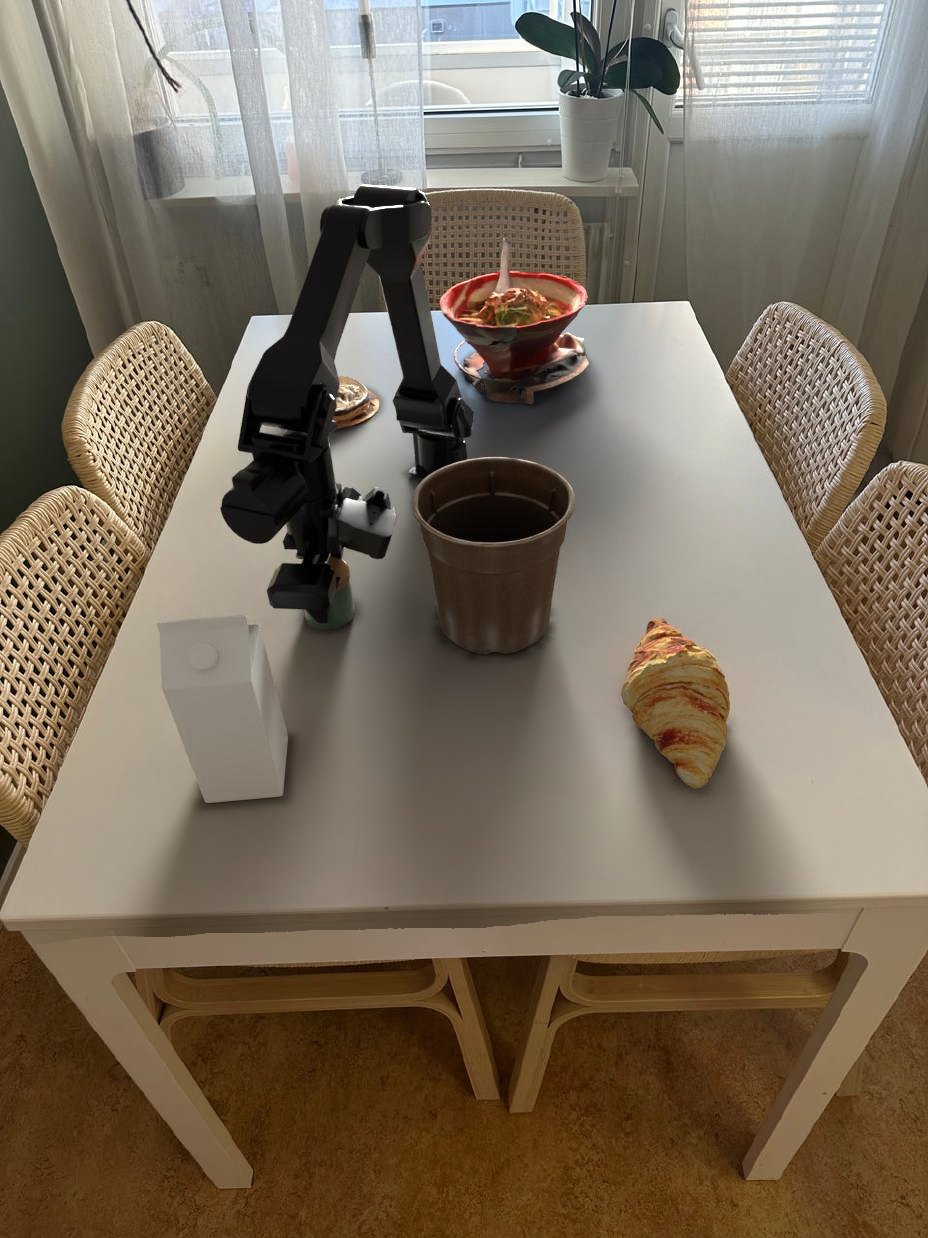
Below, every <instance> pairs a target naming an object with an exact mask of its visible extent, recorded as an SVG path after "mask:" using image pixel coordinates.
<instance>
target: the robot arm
mask: <svg viewBox="0 0 928 1238" xmlns="http://www.w3.org/2000/svg"><path fill="white" fill-rule="evenodd" d="M432 217H433V216H432V209H431V205H430V204H429V202H428V200H427V197H426V194H425V193H424V192H422V191H420V190H419V189H418V188H412V187H400V186H389V185H388V186H387V185H372V184H362V185H360V186H359V187H357V189H356V191H355V192H354V195H350V196H346V197H341V198H337V199H335V204H332V205H328V206H327V207H325V208H324V209H323V211H322V213H321V217H320V219H319V231H320V232H319V233H320V235H319V238H318V240H317V244H316V246H315V249H314V252H313V255H312V257H311V260H310V263H309V266H308V269H307V272H306V274H305V278H304V281H303V283H302V286H301V289H300V292H299V294H298V298H297V300H296V302H295V305H294V309H293V310H292V311H293V312H292V314H291V316H290V319H289V322H288V325H287V328H286V330H285V332H284V334H283V336H282V337H280V338H279V339H278V340H277V341H275V342H274V343H273V344H272V345H270V346H269V347H267V349H265V351H264V352H263V353H262V355H261V357H260V360H259V362H258V363H257V366H256V367H255V370H254V371H253V374H252V375H251V377H250V379H249V383H248V385H247V388H246V393H245V399H244V406H243V411H242V419H241V424H240V428H239V429H240V431H239V435H238V436H239V437H238V442H237V450H238V452H241V453H246V454H251V455H252V459H253V460H252V461H250V463H248V464H247V466H245V467H243V468H242V469H240V470H239V471H237V472H236V473H235V474H234V475H233V476H232V478H231V483H232V487H231V488H230V489H229V490H228V491H227V492H226V493H225V494H224V495H223V496H222V499H221V506H220V508H219V509H220V514H221V516H222V519H223V520H224V522H225V524H226V525H227V526H228V528H229V529H230V531H232V532H233V533H234V534H235V535H237V537H239V538H241V539H242V540H244V541H246V542H248V543H251V544H255V545H264V544H267V543H269V542H270V541H272V540H273V539H274V537H275V536H277V534H278V533H279V532H280V531H281V530H282V529H283V528H284V527H285V526H286V533H285V535H284V538H283V540H282V544H283V549H284V550H289V551H291V550H292V551H293V550H296V554H295V558H296V559H297V560H301V562H300V563H299V562H298V563H295V562H294V563H293V562H292V563H291V562H282V563H281V564H279V566H278V567H276V568H275V570H274V572H273V574H272V576H271V578H270V582H269V584H268V586H267V588H266V594H267V598H268V603H269V605H270V606H271V607H272V608H273V609H274V610H275V609H278V610H279V609H280V610H303V611H304V610H306V611H307V612H308V613H309V614H310V615H311V616H312V617H313V618H314V619H315V620H316V621H317V622H318V623H328V615H329V607H330V606H331V603H332V600H333V597H334V594H335V593H336V590H337V587H338V584H339V581H340V578H341V577H336V576H335V572H334V571H333V570H332V569H331V566H330V565H329V564H327V563H328V560H329V557H335V558H339V559H341V560H343V559H344V558H343V557H344V550H345V549H348V550H351V551H354V552H356V553H361V554H363V555H367V556H369V557H370V558H371V559H374V560H383V559H384V558H385V557H386V555H387V552H388V550H389V546H390V544H391V540H392V538H393V534H394V530H395V526H396V522H397V519H398V516H397V514H396V507H394V506H392V503H391V499H390V494H389V490H387V489H383V488H380V487H378V486H375V487H373V489H371V490H370V491H369V492H368V493H367V494H365V495H364V498H363V496H362V494H361V493H360V492H359V491H358V490H357V489H355V488H354V487H352V486H342V483H340V482H339V483H336V477H335V469H334V463H333V458H332V457H333V456H332V450H331V445H330V439H329V436H331V434H332V433H334V431H336V430H337V429H338V428H337V422H336V421H333V417H334V414H335V410H336V408H337V404H336V398H337V394H338V389H339V385H340V381H339V378H338V377H339V374H338V371H337V367H336V362H335V361H336V356H337V352H338V348H339V346H340V342H341V339H342V337H343V334H344V331H345V327H346V324H347V322H348V318H349V316H350V313H351V310H352V308H353V304H354V301H355V298H356V295H357V292H358V289H359V286H360V284H361V281H362V277H363V274H364V272H365V268H366V265H369V267H370V268H371V269H372V271H374V272H375V273H376V274H377V275H378V278H379V282H380V287H381V290H382V294H383V299H384V303H385V308H386V312H387V315H388V319H389V324H390V327H391V332H392V336H393V340H394V345H395V349H396V353H397V358H398V361H399V365H400V370H401V374H402V379H401V382H400V383H399V386H398V387H397V389H396V392H395V394H394V396H393V399H392V404H393V407H394V409H395V418H396V419H395V420H396V422H397V421H398V423H399V425H400V428H401V431H402V433H403V434H411V435H412V443H413V453H414V466H413V467H411V468H410V469H409V470H408V473H409V475H410V476H413V477H417V478H419V479H422V480H424V479H425V478H426V477H427V476H429V475H430V474H432V473H433V472H435V471H437V470H439V469H441V468H443V467H445V466H448V465H451V464H453V463H457V462H461V461H465V460H468V447H467V441H465V439H466V438H470V437H471V436H472V435H473V426H474V422H475V420H474V415H475V412H474V410H473V409H472V407H471V406H470V405H469V404H468V403H467V402H466V401H465V399H463V397H462V394H461V389H460V387H459V383H458V380H457V379H456V378H455V377H454V376H453V375H452V374H451V373H450V372H449V371H448V369H447V368H446V367H445V366H444V365H443V364H442V362H441V358H440V353H439V348H438V342H437V338H436V332H435V327H434V322H433V316H432V311H431V306H430V301H429V296H428V290H427V285H426V280H425V275H424V270H423V263H422V259H423V257H424V255H425V252H426V249H427V248H428V245H429V243H430V241H431V239H432V230H431V227H432ZM262 426H264V427H269V428H274V429H280V430H285V431H284V432H283V433H281V435H279V434H273V433H268V432H262V431H261V428H262ZM336 428H337V429H336ZM344 548H345V549H344Z"/></svg>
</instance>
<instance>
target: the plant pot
mask: <svg viewBox="0 0 928 1238" xmlns="http://www.w3.org/2000/svg"><path fill="white" fill-rule="evenodd" d="M412 494H413V495H412V499H411V509H412V513H413V515H414V518H415V520H416V521H417V523H418V525H419V529H420V534H421V539H422V543H423V544H424V547H425V548H426V549H427V554H428V560H429V566H430V571H431V577H432V582H433V588H434V594H435V599H436V607H437V611H438V619H439V624H440V628H441V630H442V632H443V634H444V635H445V636H446V637H447V639H448V640H450V641H451V642H452V643H453V644H455V645H456V646H458V647H460V648H462V649H464V650H466V651H468V652H471V653H475V654H480V655H486V656H487V655H489V654H491V653H501V654H503V655H509V654H513V653H514V654H515V653H516V652H520V651H522V650H523V651H524V650H525V649H527V648H529V647H531V646H533V645H534V644H535V643H536V642H537V641H539V640H540V639H541V638H542V637H543V635H544V634H545V633H546V631H547V629H548V628H549V625H550V617H551V610H552V603H553V602H552V601H553V595H554V589H555V582H556V578H557V577H556V576H557V570H558V564H559V560H560V553H561V547H562V545H563V544H564V542H565V539H566V534H567V527H568V521H570V519H571V517H572V515H573V513H574V510H575V505H576V496H575V495H576V494H575V491H574V490H573V487H572V486H571V484H570V482H569V481H568V480H567V479H565V477H563V476H562V475H561V474H560V473H558V472H557V471H555V470H553V469H551V468H549V467H547V466H545V465H543V464H541V463H537V462H535V461H534V462H533V461H530V460H526V459H525V460H524V459H521V458H516V457H515V458H514V457H505V456H504V457H503V456H487V457H476V458H470V459H467V460H465V461H461V462H457V463H453V464H451V465H448V466H445V467H443V468H441V469H439V470H437V471H435V472H433V473H432V474H430V475H429V476H427V477H426V478H425V479H422V480H421V482H420V483H418V485H417V486H416V488H415V489H414V491H413V493H412Z"/></svg>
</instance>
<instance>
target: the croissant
mask: <svg viewBox="0 0 928 1238" xmlns="http://www.w3.org/2000/svg"><path fill="white" fill-rule="evenodd" d="M645 632H646V633H645V635H644V636H643V637H642V638H641V639H640V642H638V644H637V646H636V647H635V650H634V651H633V652H634V654H635V655H634V656H633V658H632V660H631V661H630V663H629V666H628V667H627V671H626V680H625V681H624V683H623V684H622V686H621V690H620V694H621V697H622V702H623V703H622V704H623V705H625V707H627V709H628V710H629V712H631V714H632V720H633V721H634V722H635V724H636V726H637V727H638V728H639V729H641V730H643V731H644V732H645V734H646V735H647V736H649V738H650V740H654V744H655V745H654V746H655V748H656V749H657V751H658V752H659V754H661V756H664V757H665V758H666V759H667V760H668V761H669V763H672V764H673V765H674V766H673V768H674V769H675V773H676V775H677V776H678V777H679V778H680V779H681V781H682V782H683V783H684V784H685V785H688V786H689V787H690V788H693V789H701V788H703V787H704V786H705V785H706V784H708V782H709V779H710V778H711V777H712V776H713V773H714V772H715V770H716V766H717V765H718V763H719V760H720V759H721V755H722V751H724V749H725V746H726V744H727V738H728V724H727V721H728V717H729V715H730V710H731V703H730V692H729V686H728V683H727V681H726V676H725V674H724V673H723V670H722V667H721V666H720V664H719V663H718V661H717V659H716V658H715V657H714V655H713V654H712V653H711V652H710V651H709V650H708V649H706V648H705V647H703V646H698V645H697V644H696V642H694V640H692V639H690V638H688V637H685V636H684V634H683V633H682V632H681V631H680V630H679V629H677V628H676V627H674V626H672V625H670V624H669V623H668V622H667V621H666V619H665V618H664V617H660V618H652V619H651V620H650V621H649V622H648V623H647V625H646V631H645Z"/></svg>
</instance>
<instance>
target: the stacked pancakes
mask: <svg viewBox="0 0 928 1238" xmlns="http://www.w3.org/2000/svg"><path fill="white" fill-rule="evenodd" d="M338 378H339V381H340V385H339V389H338V394H337V398H336V404H337V408H336V410H335V414H334V417H333V421H336V422H337V428H336V429H335V430H337V429H342V428H349V427H352V426H354V425H356V424H361V422H362V423H363V422H364V421H366V420H368V419H369V418H371V417H372V416H373V415H375V414H376V413H377V411H378V410H379V408H380V400H379V398H378V396H377V395H376V394H375V393H374V392H373V391H371V390H369V389H368V388H367V387H366V386H365V385H364V384H363V383H362V382H360V380H357V379H356V378H353V377H351V376H344V375H339V376H338Z"/></svg>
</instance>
